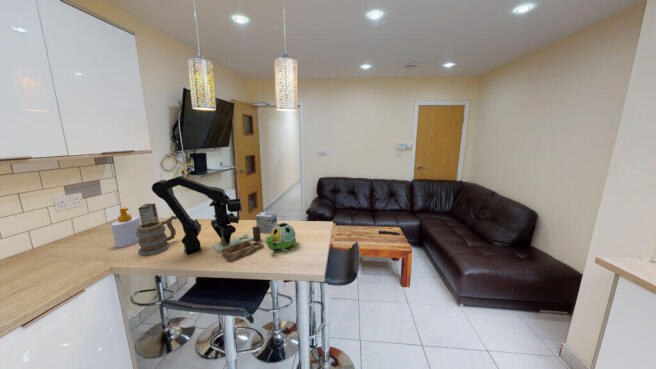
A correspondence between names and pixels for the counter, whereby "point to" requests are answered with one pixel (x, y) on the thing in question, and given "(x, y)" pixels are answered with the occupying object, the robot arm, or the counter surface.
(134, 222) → the soap bottle
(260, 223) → the light bulb box
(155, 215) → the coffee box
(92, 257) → the counter surface
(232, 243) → the lid
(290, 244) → the turtle holder
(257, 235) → the key peg
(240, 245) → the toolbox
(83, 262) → the counter surface
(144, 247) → the tankard
